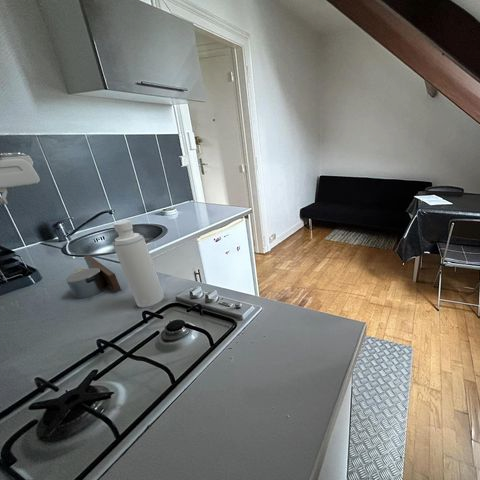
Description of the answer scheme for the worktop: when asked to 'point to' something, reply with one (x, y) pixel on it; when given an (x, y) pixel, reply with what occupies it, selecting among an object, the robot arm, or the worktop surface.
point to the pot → (86, 283)
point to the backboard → (104, 273)
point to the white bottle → (137, 265)
